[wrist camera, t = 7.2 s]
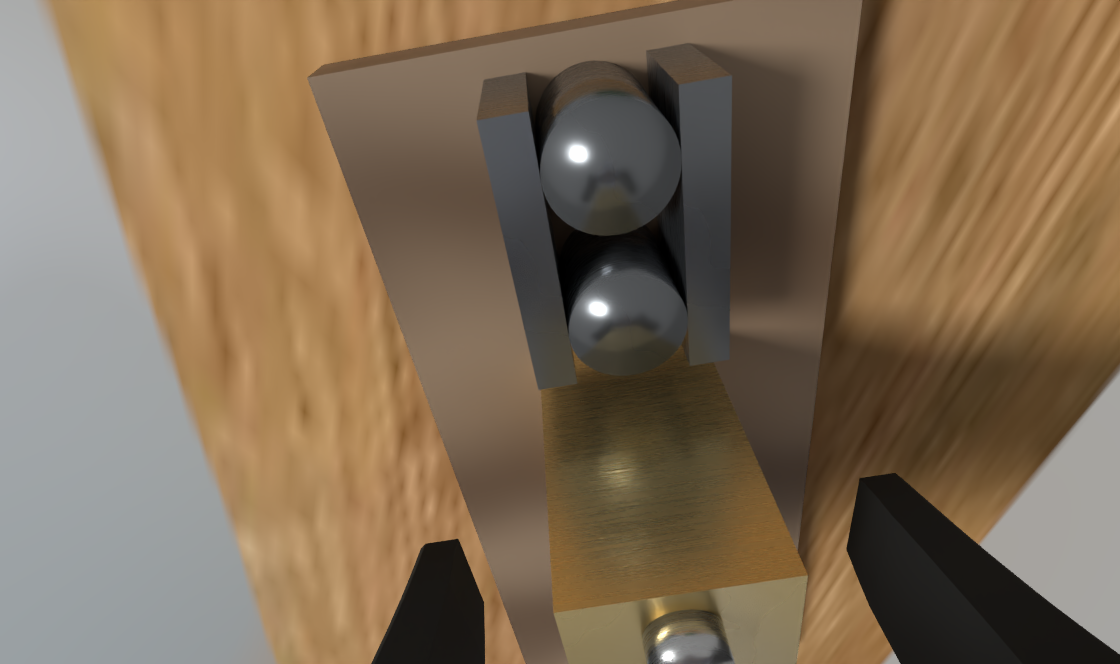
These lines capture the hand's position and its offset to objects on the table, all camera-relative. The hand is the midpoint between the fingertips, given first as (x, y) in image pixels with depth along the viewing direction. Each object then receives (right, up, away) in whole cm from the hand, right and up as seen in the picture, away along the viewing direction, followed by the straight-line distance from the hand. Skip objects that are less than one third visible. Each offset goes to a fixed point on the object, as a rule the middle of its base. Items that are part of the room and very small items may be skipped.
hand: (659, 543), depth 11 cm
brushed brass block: (0, +2, +3) cm, 4 cm away
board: (0, 0, +6) cm, 6 cm away
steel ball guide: (0, +3, +3) cm, 4 cm away
